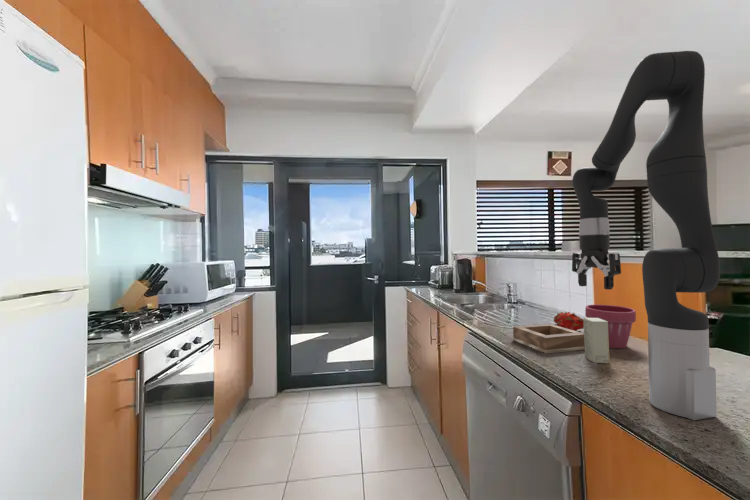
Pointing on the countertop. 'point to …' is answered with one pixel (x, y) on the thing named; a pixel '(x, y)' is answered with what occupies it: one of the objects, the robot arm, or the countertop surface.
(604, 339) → the skincare box
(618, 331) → the plant pot
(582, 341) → the socket block
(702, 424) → the countertop surface
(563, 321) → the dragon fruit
